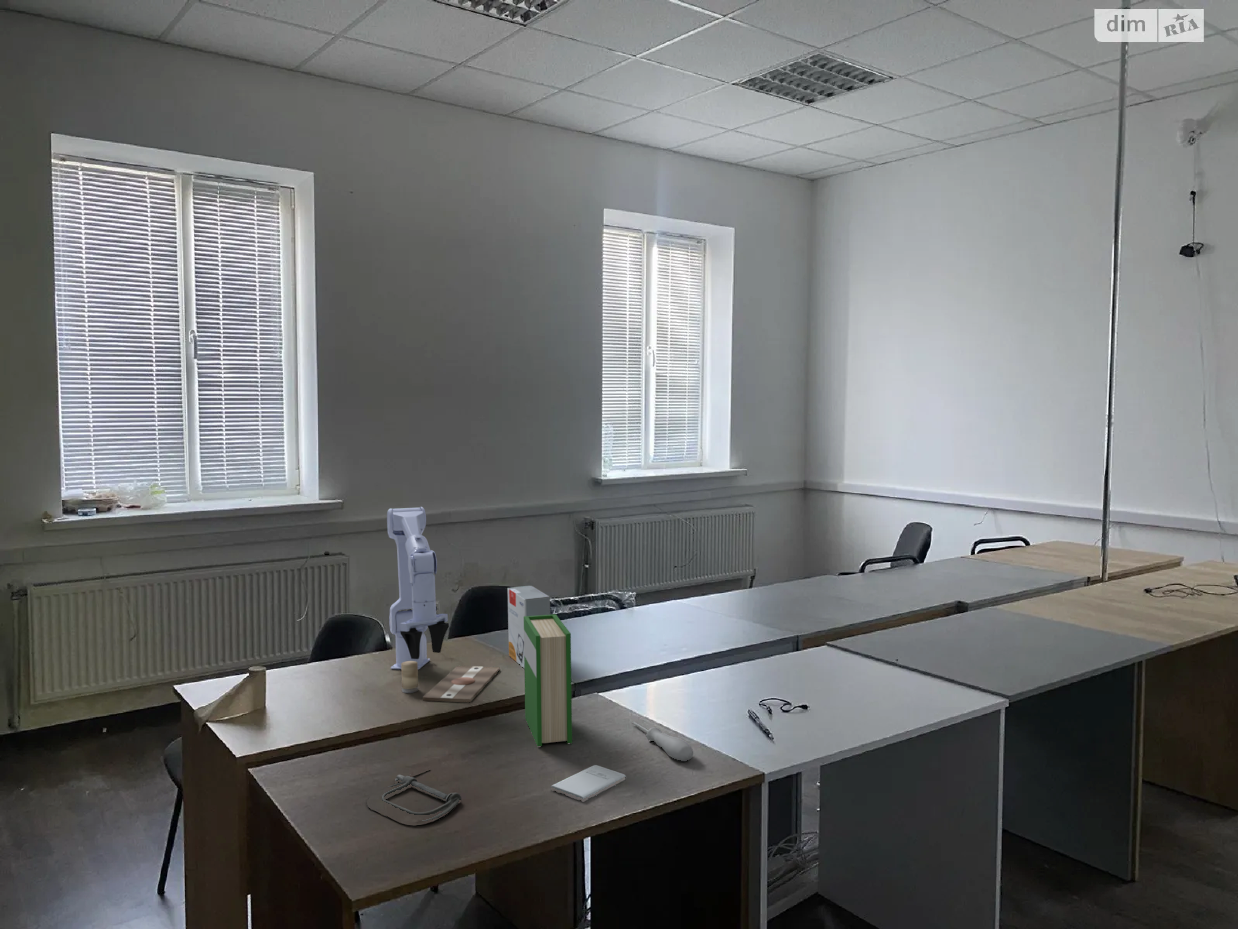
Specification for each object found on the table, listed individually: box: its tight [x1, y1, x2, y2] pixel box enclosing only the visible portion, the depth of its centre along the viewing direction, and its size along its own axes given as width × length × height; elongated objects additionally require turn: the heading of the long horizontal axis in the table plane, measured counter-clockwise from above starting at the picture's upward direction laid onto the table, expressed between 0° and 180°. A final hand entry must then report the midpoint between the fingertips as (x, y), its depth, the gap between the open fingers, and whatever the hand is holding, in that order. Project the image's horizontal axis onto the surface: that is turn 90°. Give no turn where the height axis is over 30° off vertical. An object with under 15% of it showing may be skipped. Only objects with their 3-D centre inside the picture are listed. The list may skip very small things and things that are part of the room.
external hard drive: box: [550, 764, 627, 799], centre depth 171 cm, size 2×8×12 cm
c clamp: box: [381, 774, 462, 821], centre depth 166 cm, size 20×17×3 cm
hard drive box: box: [507, 585, 551, 669], centre depth 251 cm, size 16×8×20 cm, turn 25°
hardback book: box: [523, 613, 573, 747], centre depth 198 cm, size 18×7×24 cm, turn 14°
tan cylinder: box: [400, 661, 419, 694], centre depth 227 cm, size 4×4×7 cm
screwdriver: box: [631, 720, 694, 762], centre depth 191 cm, size 5×25×4 cm, turn 26°
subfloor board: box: [422, 665, 501, 703], centre depth 232 cm, size 26×12×1 cm, turn 172°
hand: (426, 655), depth 223 cm, fingers open, 7 cm apart
